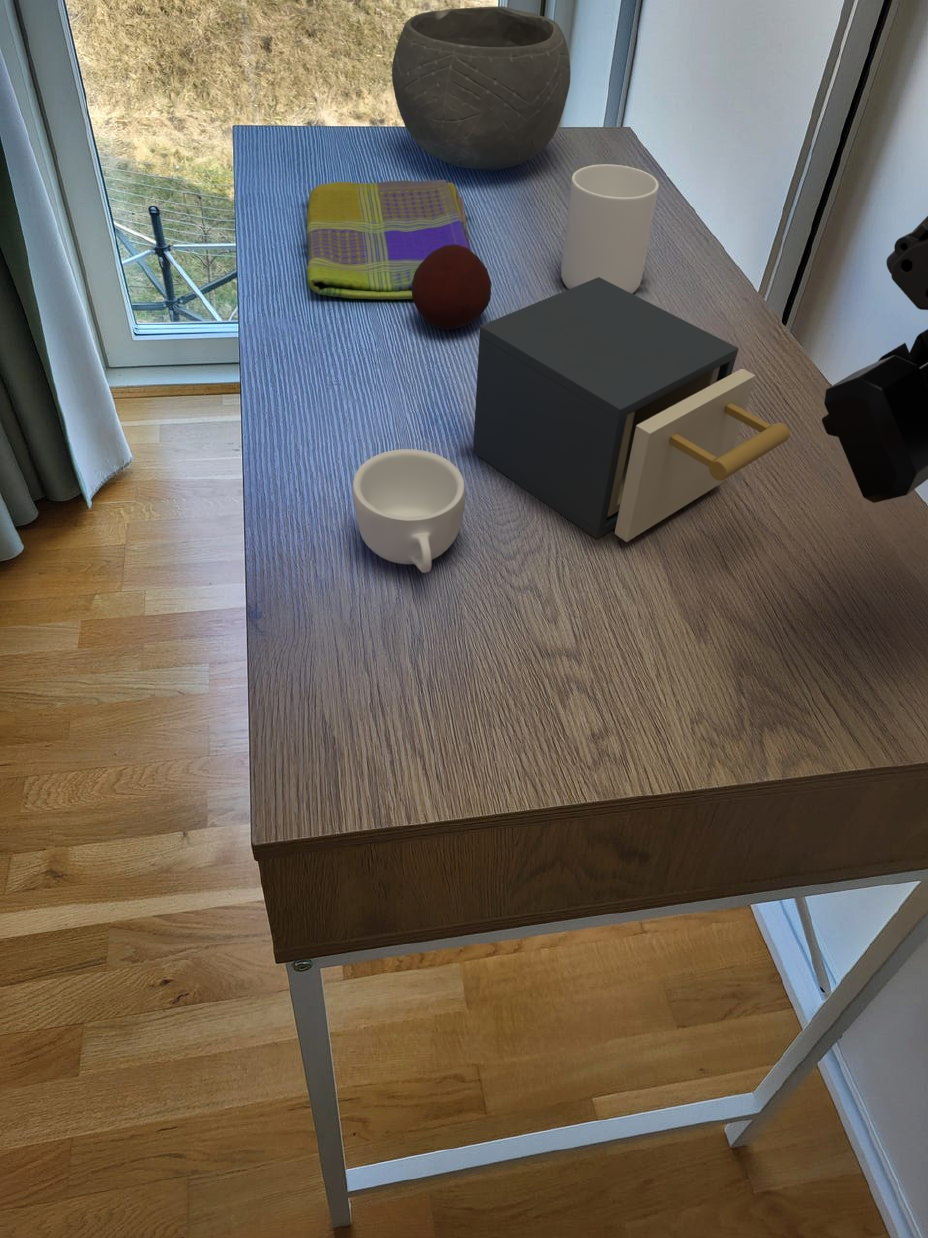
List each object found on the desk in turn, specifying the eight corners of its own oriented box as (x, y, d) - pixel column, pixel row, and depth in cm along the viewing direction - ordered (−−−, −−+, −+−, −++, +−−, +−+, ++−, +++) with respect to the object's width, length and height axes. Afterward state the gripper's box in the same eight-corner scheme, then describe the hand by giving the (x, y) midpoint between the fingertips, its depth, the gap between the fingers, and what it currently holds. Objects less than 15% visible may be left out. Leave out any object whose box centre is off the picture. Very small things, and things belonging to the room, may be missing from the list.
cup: (543, 281, 97) (554, 179, 90) (610, 245, 104) (625, 147, 96) (610, 309, 93) (626, 205, 86) (675, 270, 100) (695, 170, 93)
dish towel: (300, 302, 92) (297, 275, 90) (309, 199, 109) (308, 174, 107) (479, 302, 93) (481, 275, 91) (461, 201, 110) (462, 176, 108)
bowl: (467, 209, 109) (473, 63, 98) (359, 152, 120) (354, 15, 109) (595, 169, 119) (613, 32, 108) (485, 120, 129) (491, -9, 119)
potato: (399, 337, 88) (398, 265, 83) (426, 296, 94) (427, 226, 89) (475, 351, 87) (479, 278, 82) (498, 308, 93) (503, 238, 88)
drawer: (777, 512, 71) (815, 405, 64) (679, 579, 65) (710, 469, 59) (605, 409, 80) (623, 305, 73) (507, 460, 74) (516, 353, 67)
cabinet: (704, 474, 75) (739, 347, 67) (596, 539, 69) (620, 409, 61) (580, 398, 82) (598, 276, 74) (472, 452, 76) (479, 325, 68)
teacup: (347, 515, 70) (343, 455, 66) (448, 502, 72) (450, 443, 68) (370, 609, 63) (368, 548, 59) (481, 593, 65) (486, 533, 61)
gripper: (1129, 123, 47) (861, 257, 61) (939, 216, 38) (674, 350, 52) (1201, 331, 49) (925, 417, 62) (1036, 467, 40) (754, 533, 53)
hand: (827, 424), depth 57 cm, fingers closed
